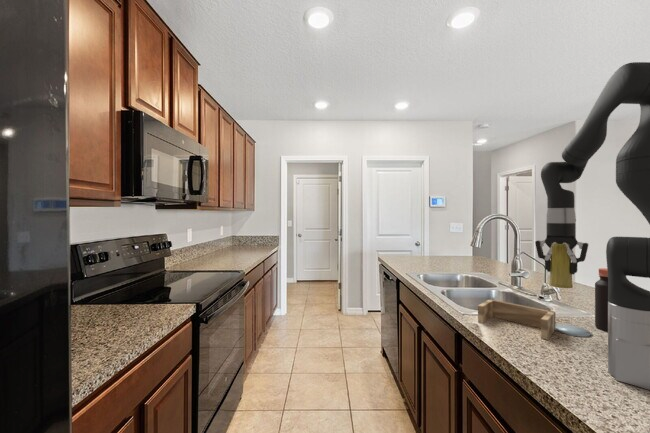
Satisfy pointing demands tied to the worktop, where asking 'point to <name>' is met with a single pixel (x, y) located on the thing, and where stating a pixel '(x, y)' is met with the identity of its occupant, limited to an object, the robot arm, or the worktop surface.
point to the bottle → (601, 300)
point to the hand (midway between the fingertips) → (560, 272)
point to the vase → (560, 267)
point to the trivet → (572, 330)
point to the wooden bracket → (518, 315)
